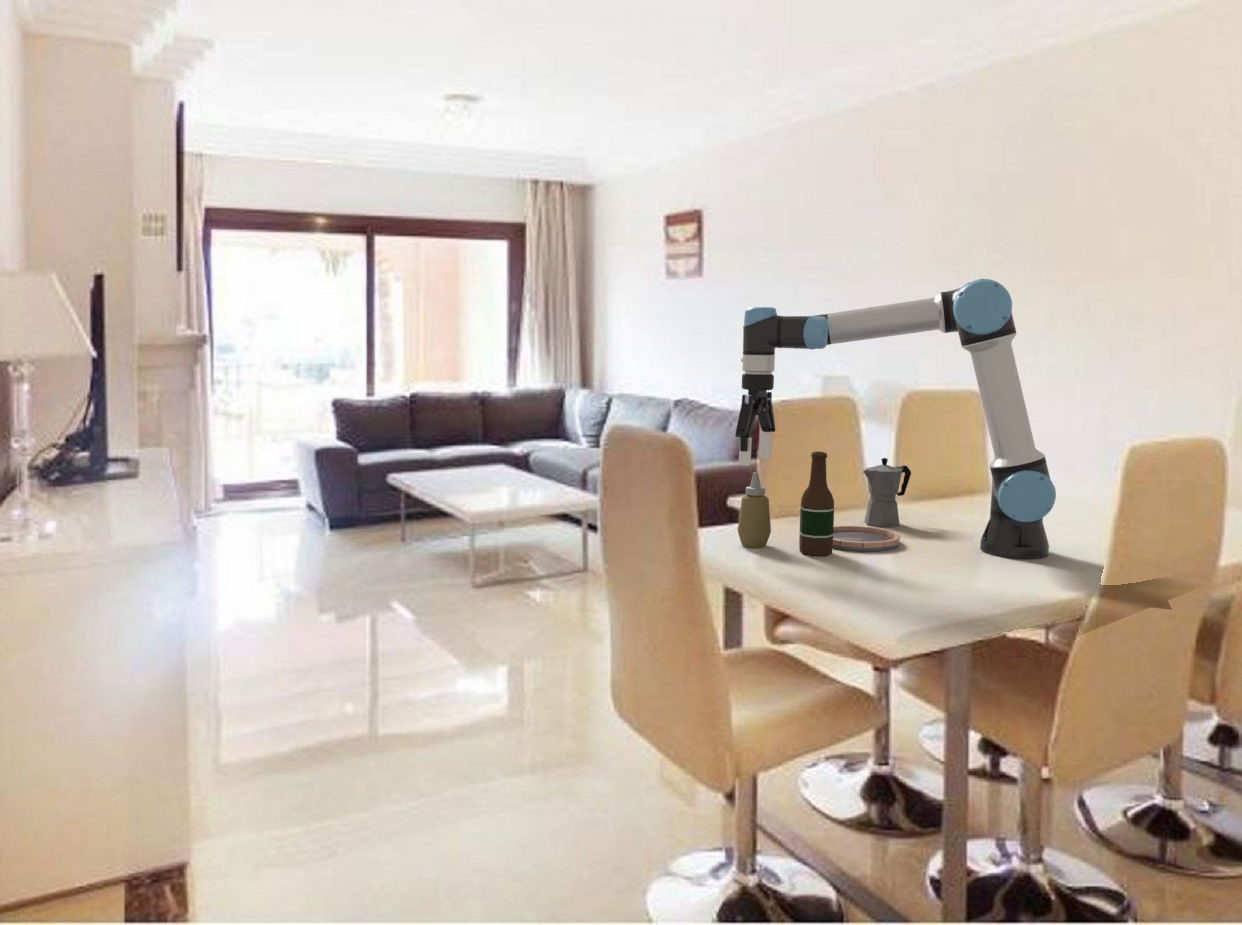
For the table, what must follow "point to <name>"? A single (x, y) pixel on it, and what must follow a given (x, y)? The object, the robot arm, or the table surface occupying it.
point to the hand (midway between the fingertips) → (754, 461)
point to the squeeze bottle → (754, 516)
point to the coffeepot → (884, 493)
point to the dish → (864, 538)
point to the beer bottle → (817, 511)
